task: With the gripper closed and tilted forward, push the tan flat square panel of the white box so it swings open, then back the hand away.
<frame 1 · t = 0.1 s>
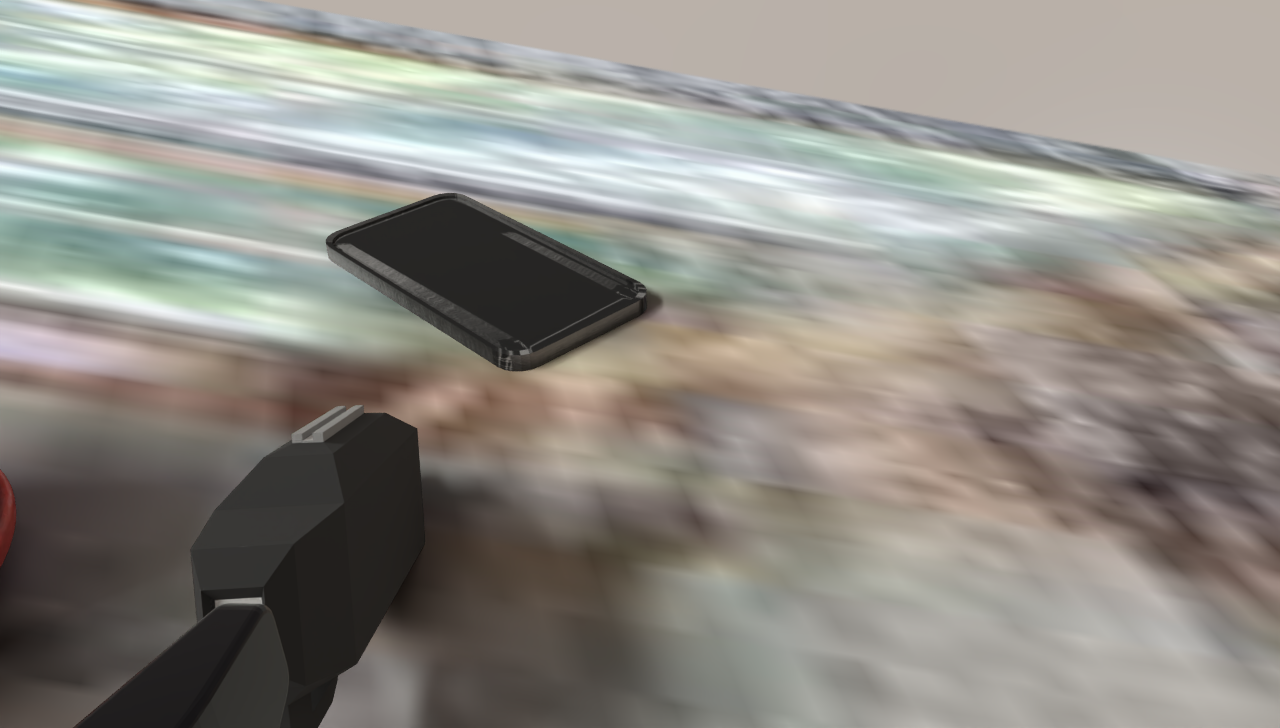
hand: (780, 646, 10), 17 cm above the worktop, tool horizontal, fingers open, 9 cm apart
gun: (360, 659, 32), on the worktop
phone: (482, 288, 50), on the worktop
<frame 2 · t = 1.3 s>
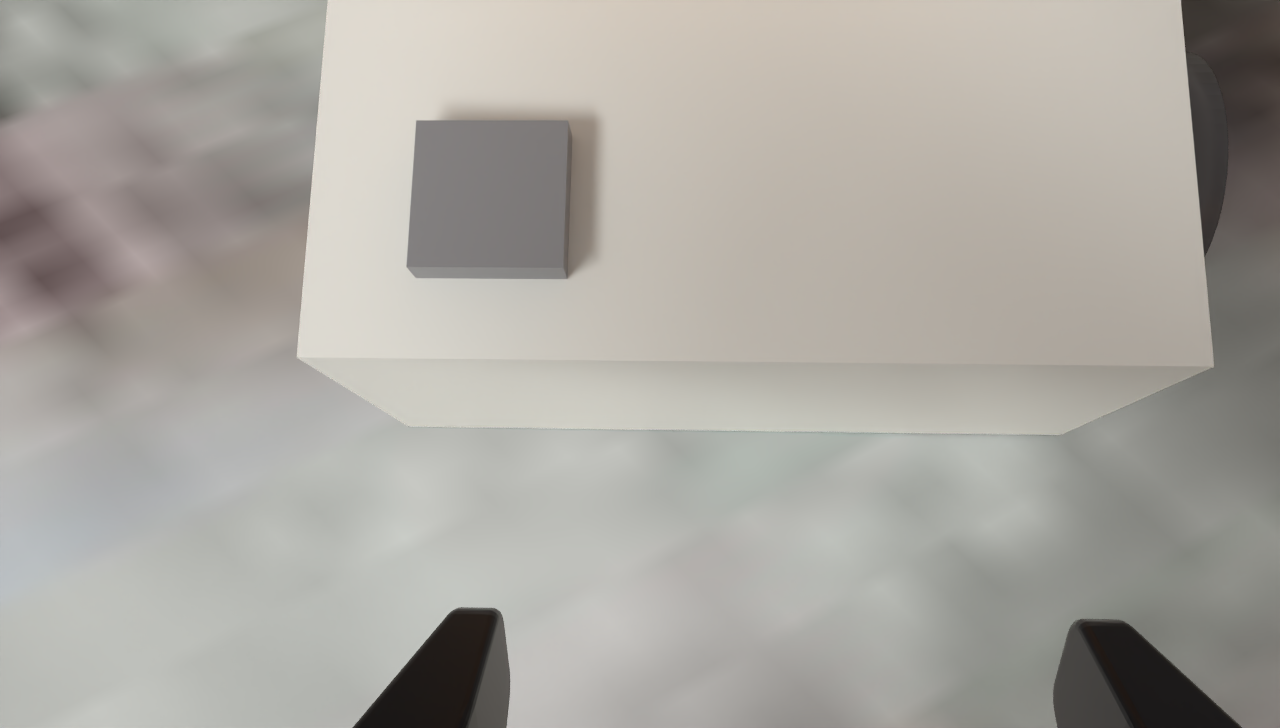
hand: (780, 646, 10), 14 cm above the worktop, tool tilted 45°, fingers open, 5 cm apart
white box: (730, 231, 25), on the worktop
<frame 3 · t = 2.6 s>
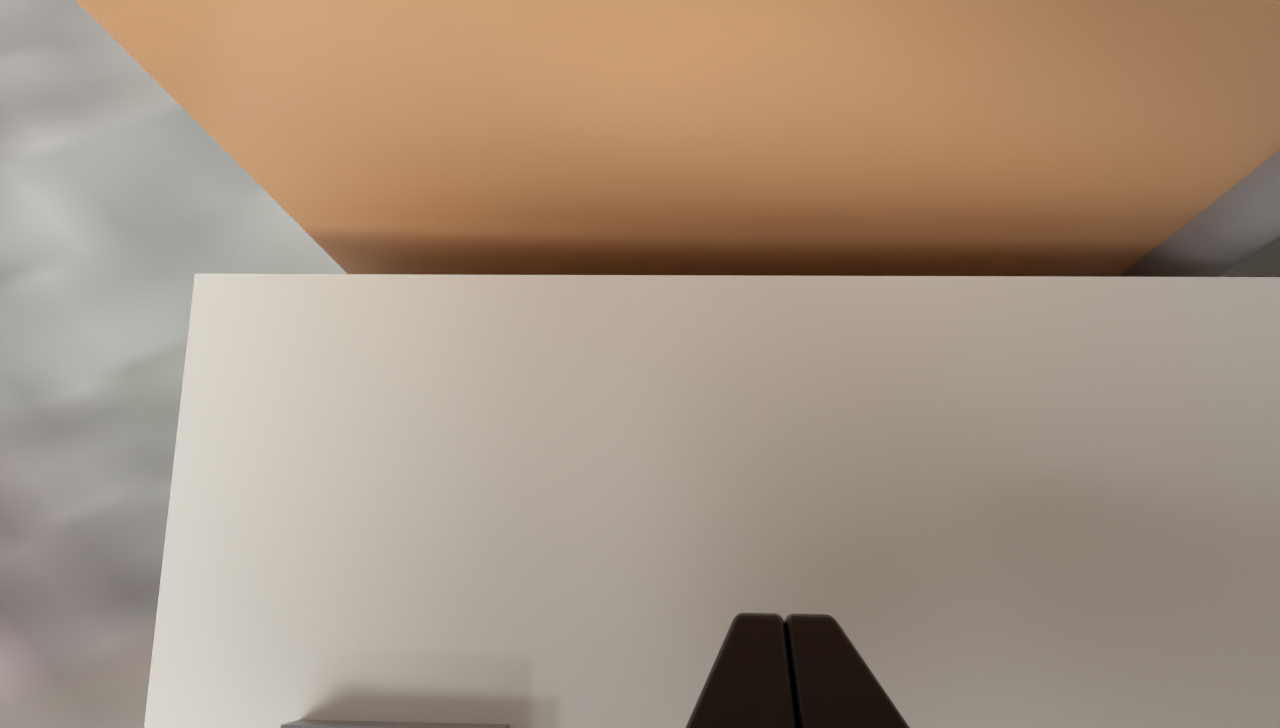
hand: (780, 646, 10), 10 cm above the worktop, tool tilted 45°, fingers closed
white box: (733, 642, 19), on the worktop
tan flat square panel: (773, 194, 14), point 7 cm above the worktop, hinge at 0.0°
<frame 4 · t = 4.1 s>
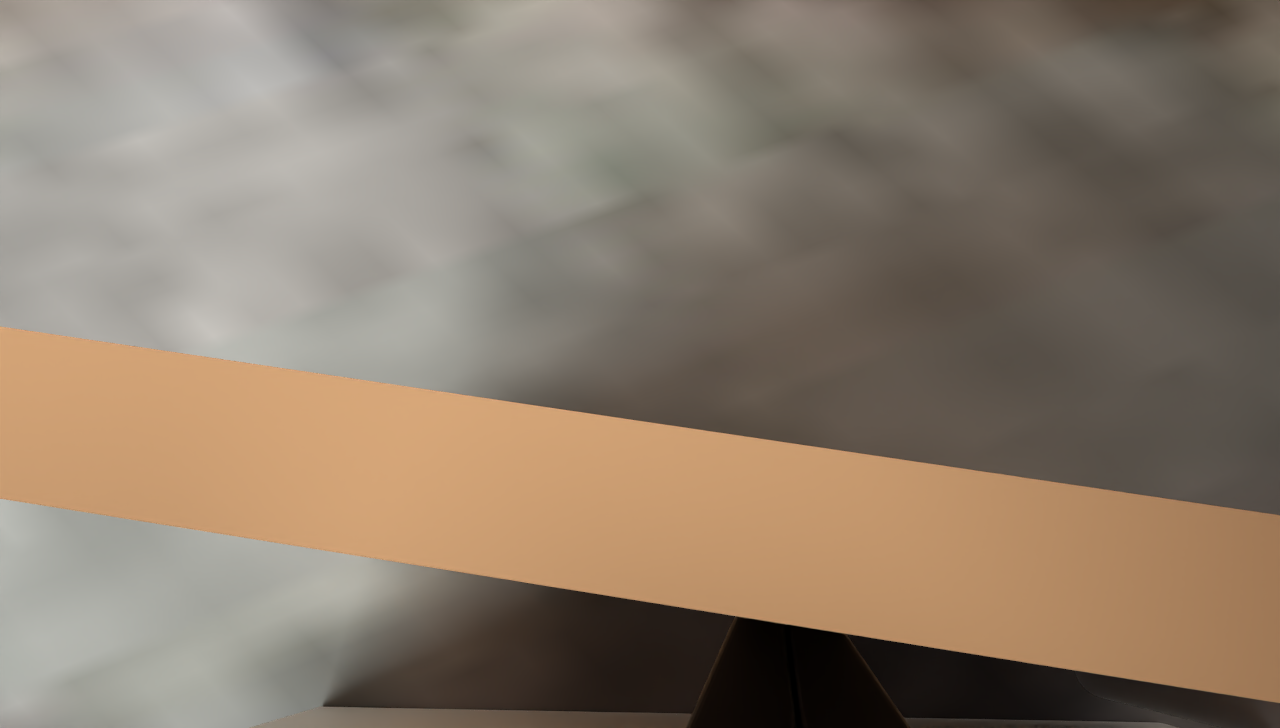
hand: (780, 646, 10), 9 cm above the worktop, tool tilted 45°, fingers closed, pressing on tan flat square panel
tan flat square panel: (786, 594, 12), point 7 cm above the worktop, hinge at 8.2°, touching gripper
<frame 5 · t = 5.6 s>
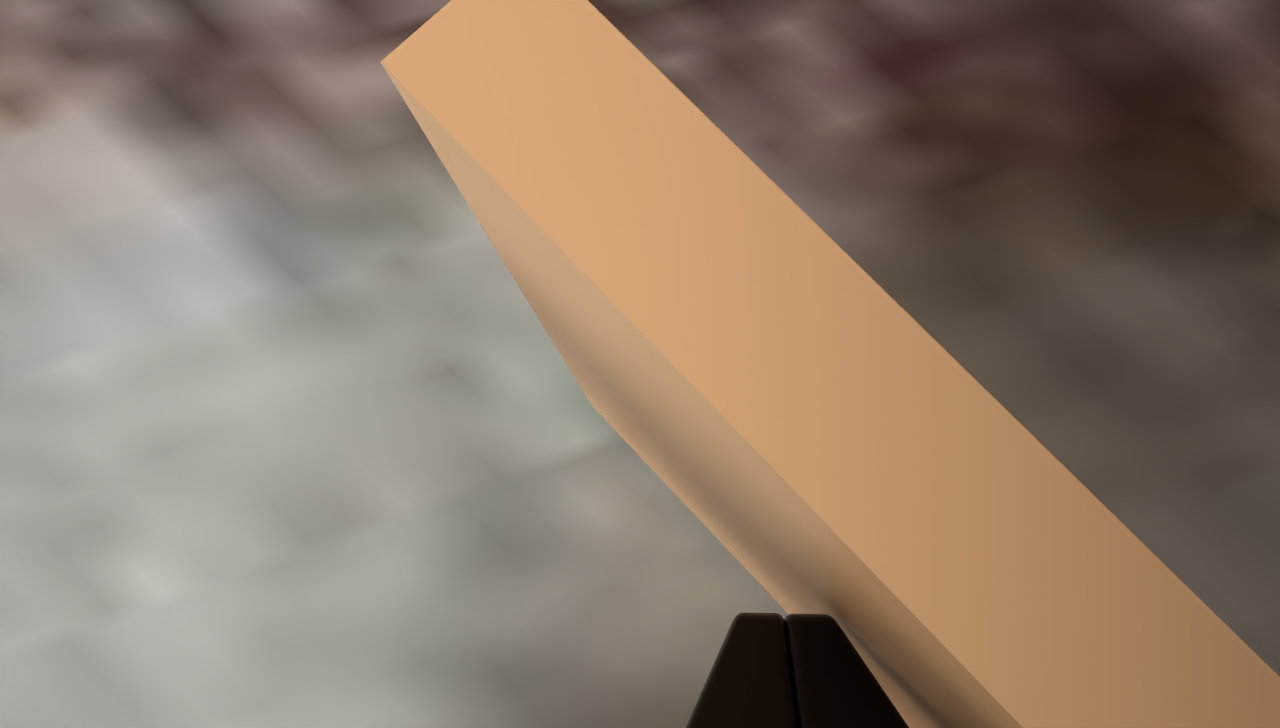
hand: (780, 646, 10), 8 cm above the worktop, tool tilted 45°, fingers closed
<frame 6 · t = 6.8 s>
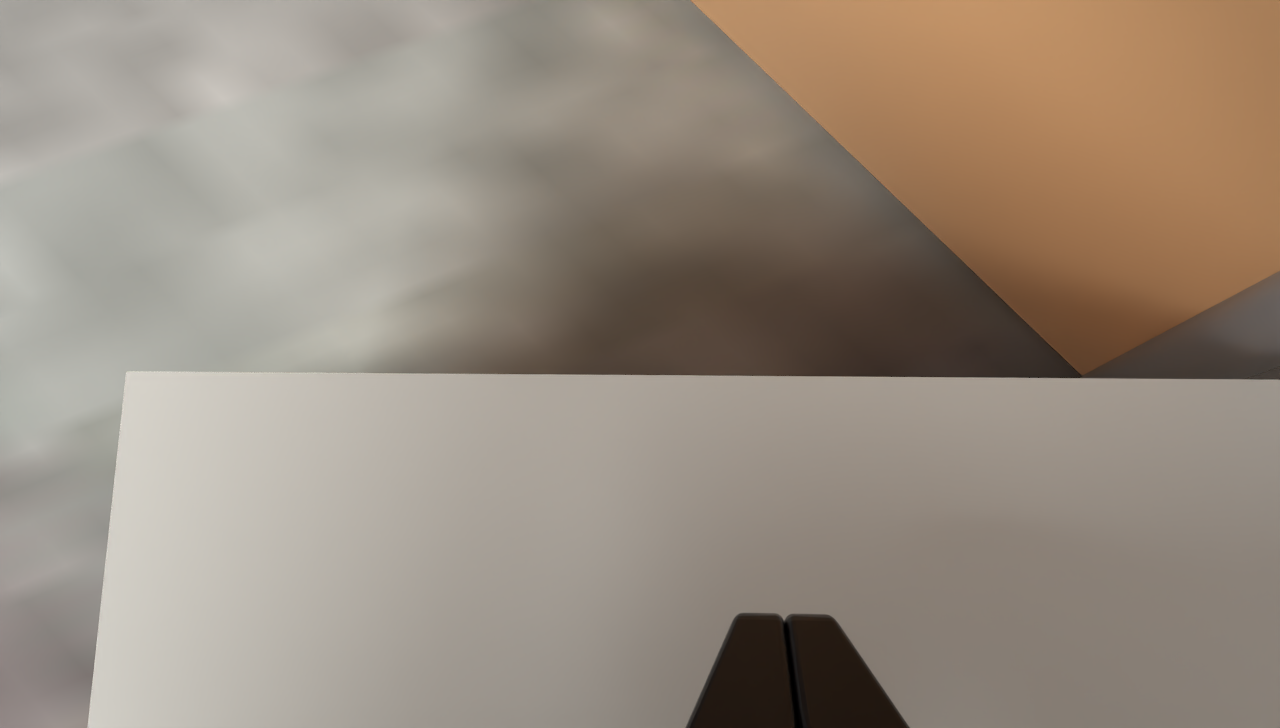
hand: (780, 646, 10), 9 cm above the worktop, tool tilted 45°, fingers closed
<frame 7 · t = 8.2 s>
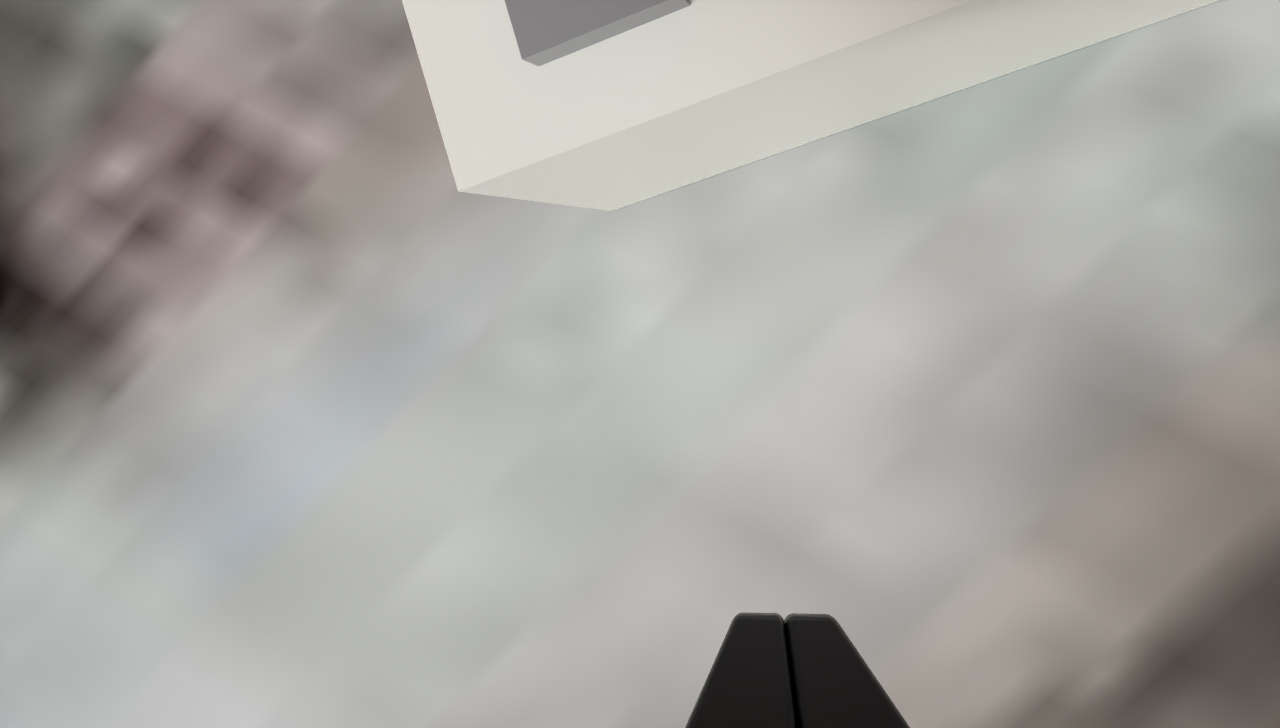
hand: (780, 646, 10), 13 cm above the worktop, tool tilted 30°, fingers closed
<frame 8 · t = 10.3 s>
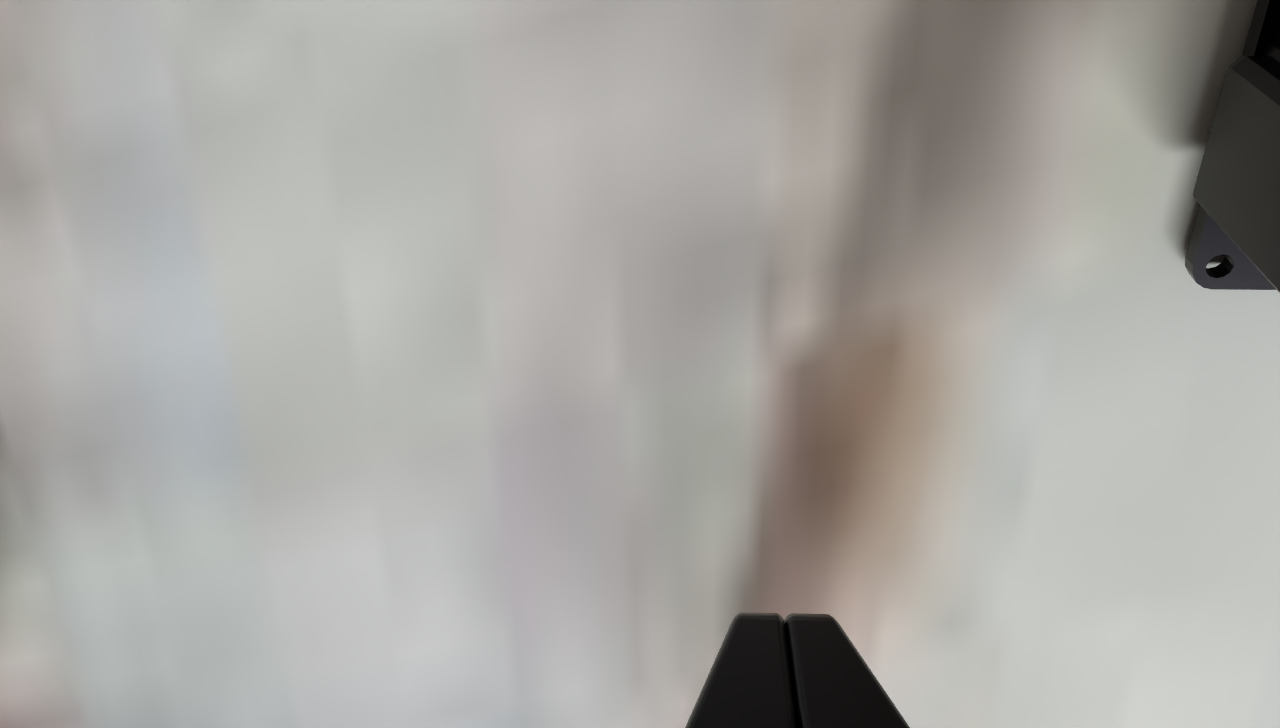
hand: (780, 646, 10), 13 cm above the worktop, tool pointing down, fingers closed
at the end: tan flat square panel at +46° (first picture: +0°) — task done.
